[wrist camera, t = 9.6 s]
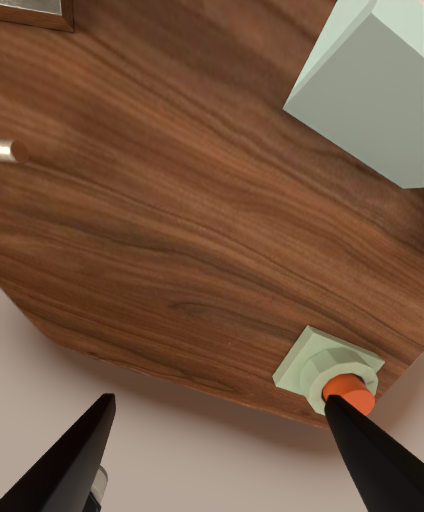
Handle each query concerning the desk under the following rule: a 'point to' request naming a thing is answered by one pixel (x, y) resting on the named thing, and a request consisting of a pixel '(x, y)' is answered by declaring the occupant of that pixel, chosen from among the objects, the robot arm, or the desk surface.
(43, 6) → the bracket
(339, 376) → the button
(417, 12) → the right angle wall
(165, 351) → the desk surface
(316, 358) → the control block
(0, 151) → the lever
